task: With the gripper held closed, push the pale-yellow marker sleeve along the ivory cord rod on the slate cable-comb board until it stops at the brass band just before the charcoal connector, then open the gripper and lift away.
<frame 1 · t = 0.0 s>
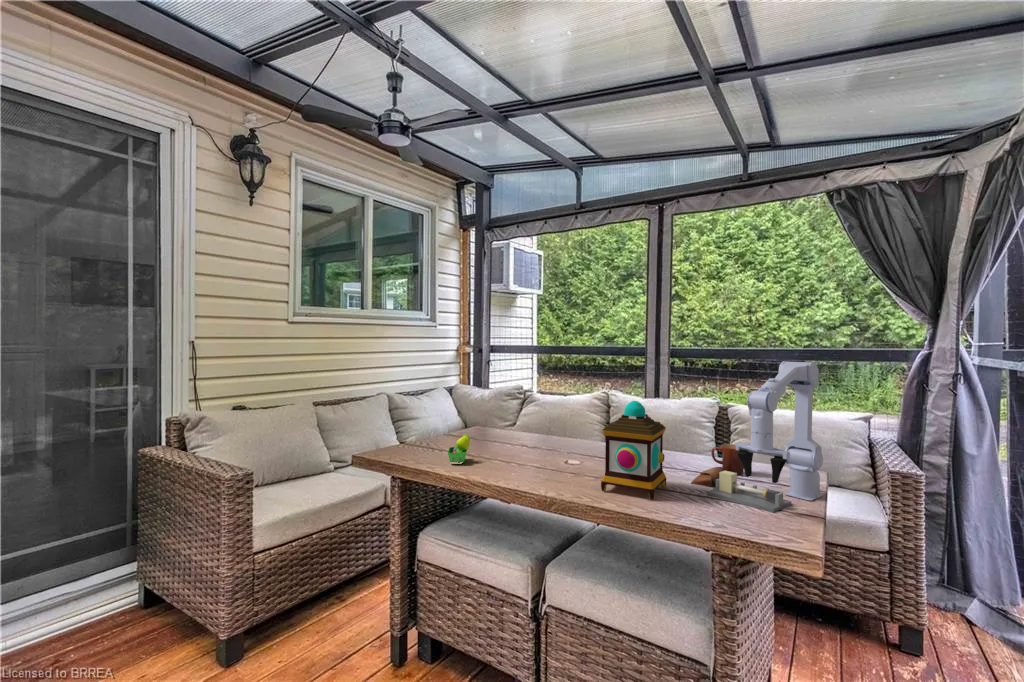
hand: (761, 479, 139), 10 cm above the table, fingers open, 7 cm apart
decorative lantern: (634, 490, 162), on the table
sunglasses case: (708, 482, 174), on the table
marker sleeve: (728, 481, 158), point 4 cm above the table, slide at 0.0 cm
fruit basket: (459, 462, 197), on the table
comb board: (747, 499, 152), on the table
mug: (728, 473, 184), on the table
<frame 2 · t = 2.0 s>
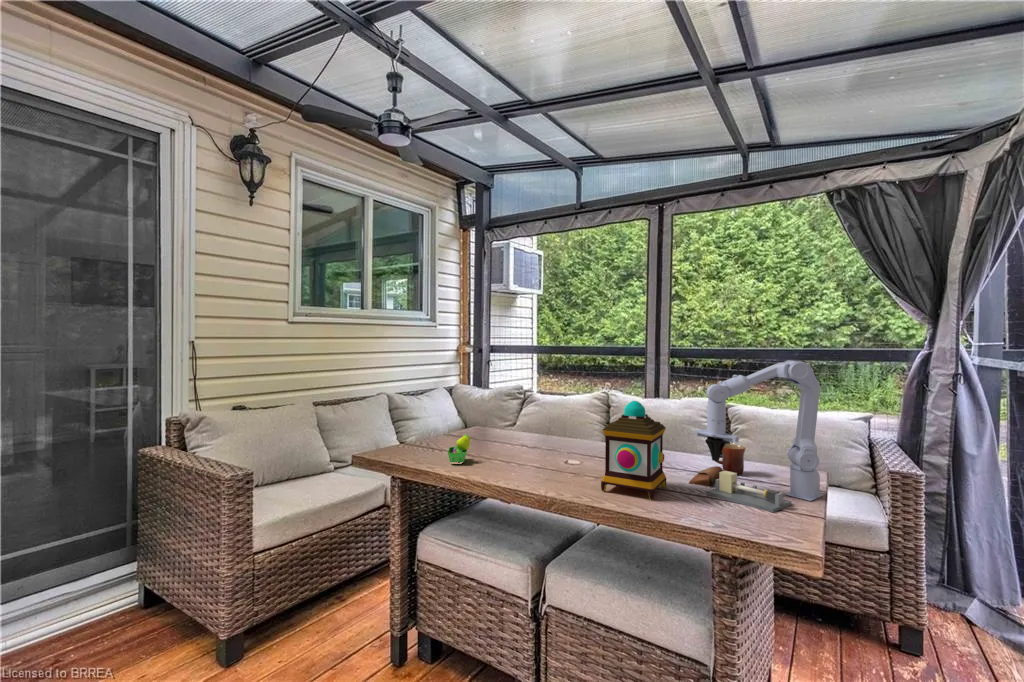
hand: (715, 460, 162), 10 cm above the table, fingers closed
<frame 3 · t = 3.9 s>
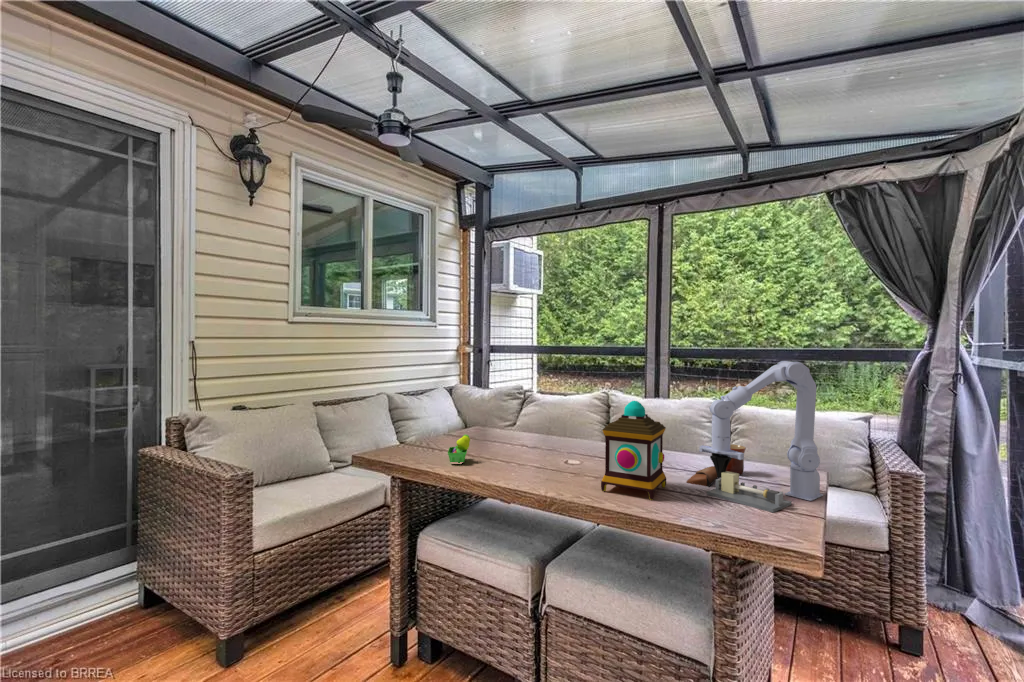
hand: (720, 477, 160), 5 cm above the table, fingers closed
marker sleeve: (730, 482, 157), point 4 cm above the table, slide at 0.7 cm, touching gripper
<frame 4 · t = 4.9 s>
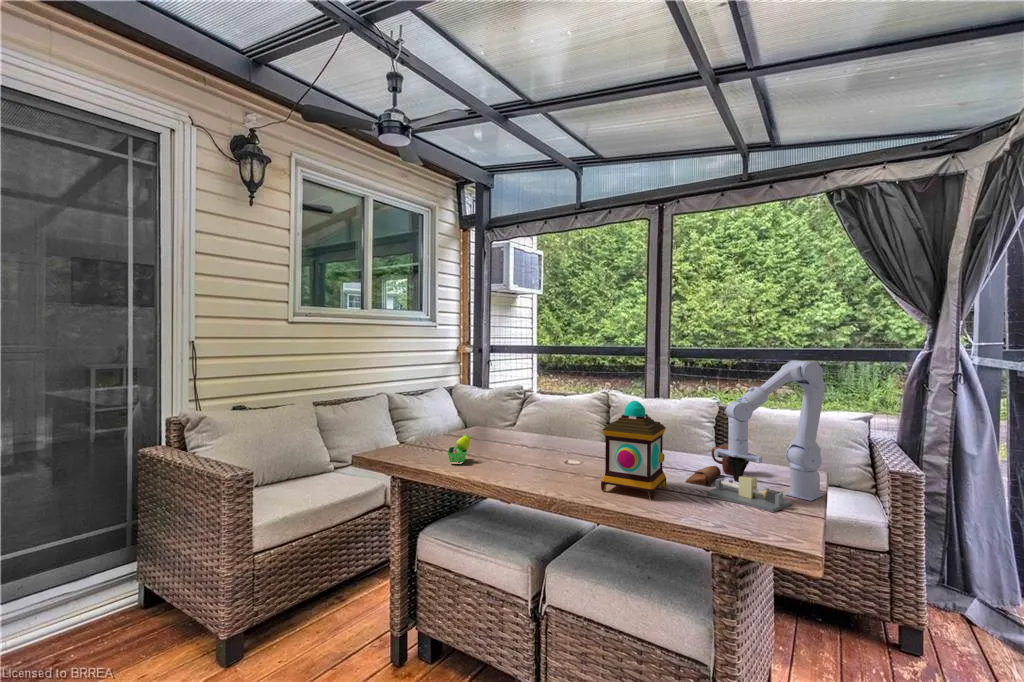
hand: (737, 481, 155), 5 cm above the table, fingers closed
marker sleeve: (747, 486, 153), point 4 cm above the table, slide at 6.5 cm, touching gripper
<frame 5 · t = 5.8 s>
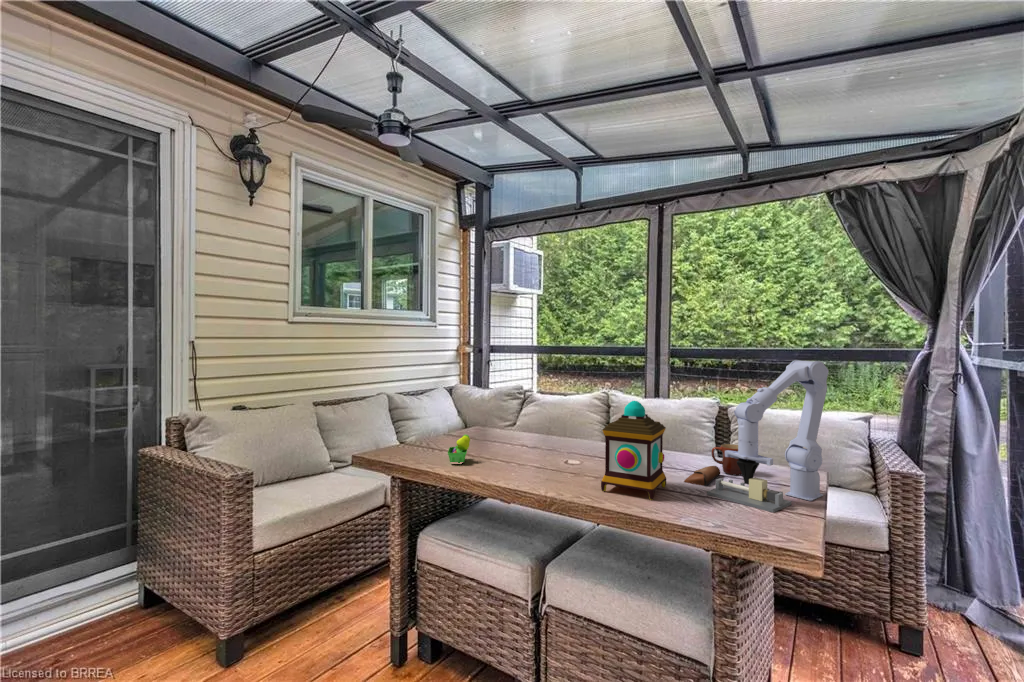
hand: (747, 483, 152), 5 cm above the table, fingers closed
marker sleeve: (758, 489, 150), point 4 cm above the table, slide at 9.7 cm, touching gripper
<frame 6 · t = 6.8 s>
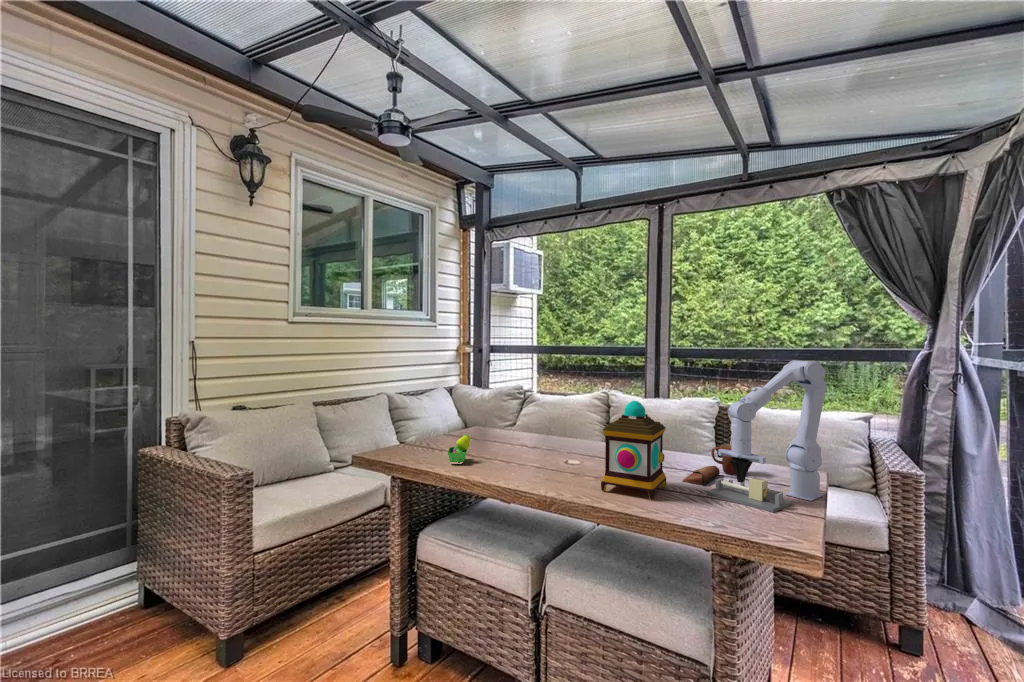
hand: (741, 481, 154), 5 cm above the table, fingers closed
marker sleeve: (758, 489, 150), point 4 cm above the table, slide at 9.8 cm
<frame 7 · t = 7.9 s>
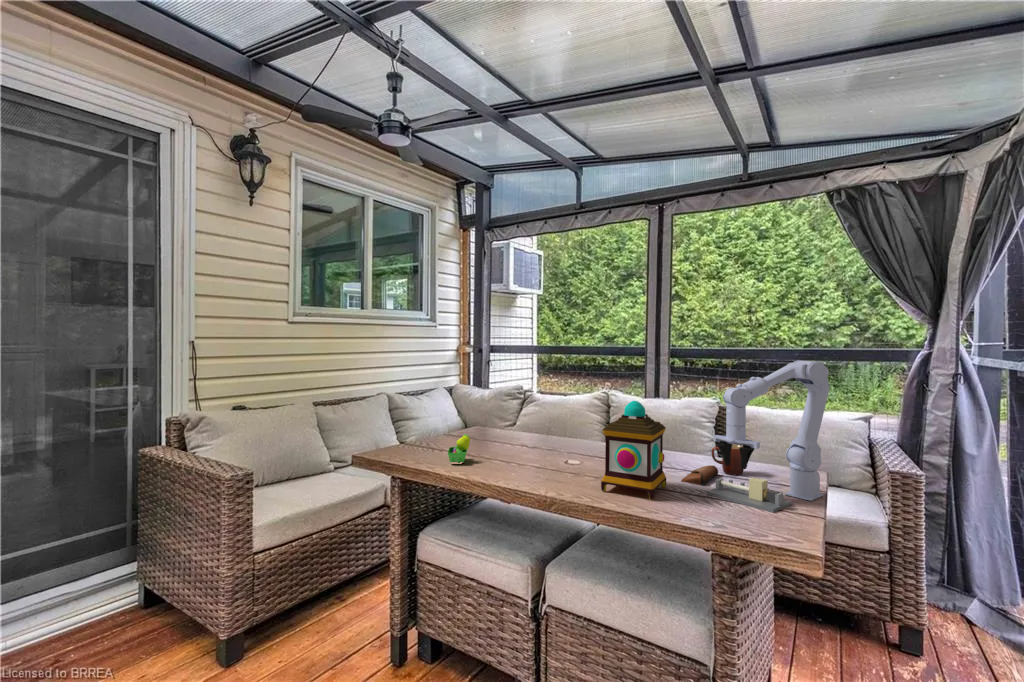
hand: (735, 467, 156), 9 cm above the table, fingers open, 5 cm apart
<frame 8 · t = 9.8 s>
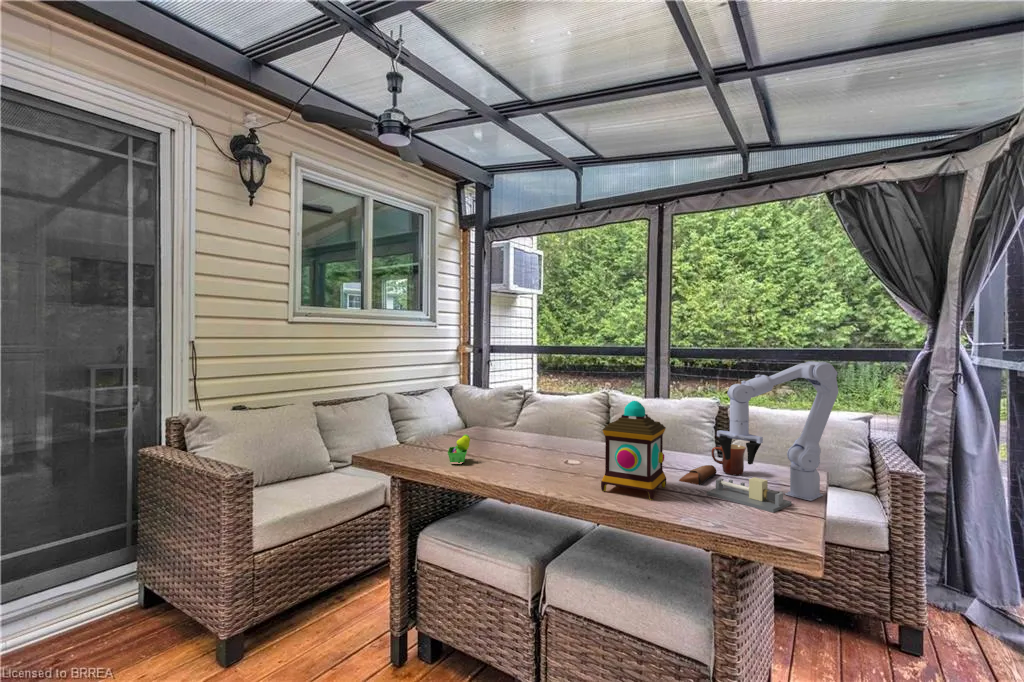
hand: (738, 461, 159), 10 cm above the table, fingers open, 7 cm apart
at the end: marker sleeve slide at 9.8 cm; the gripper is holding nothing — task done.
